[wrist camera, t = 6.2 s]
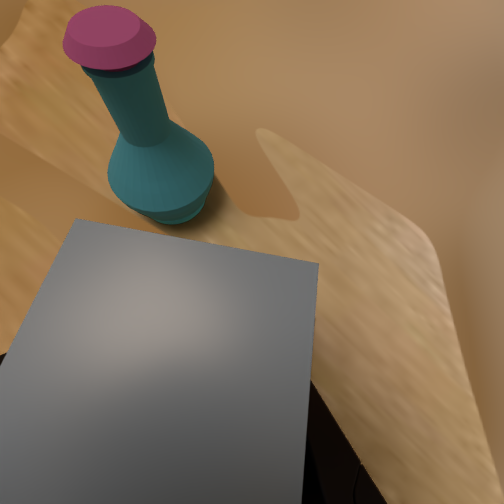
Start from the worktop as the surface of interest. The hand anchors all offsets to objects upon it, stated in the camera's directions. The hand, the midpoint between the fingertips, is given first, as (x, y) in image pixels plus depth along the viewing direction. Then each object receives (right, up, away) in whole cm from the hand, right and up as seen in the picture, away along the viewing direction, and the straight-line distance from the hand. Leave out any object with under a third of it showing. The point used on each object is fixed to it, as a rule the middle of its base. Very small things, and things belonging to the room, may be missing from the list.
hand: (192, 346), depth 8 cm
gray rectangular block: (-1, -3, +6) cm, 7 cm away
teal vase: (-6, +9, +18) cm, 21 cm away
